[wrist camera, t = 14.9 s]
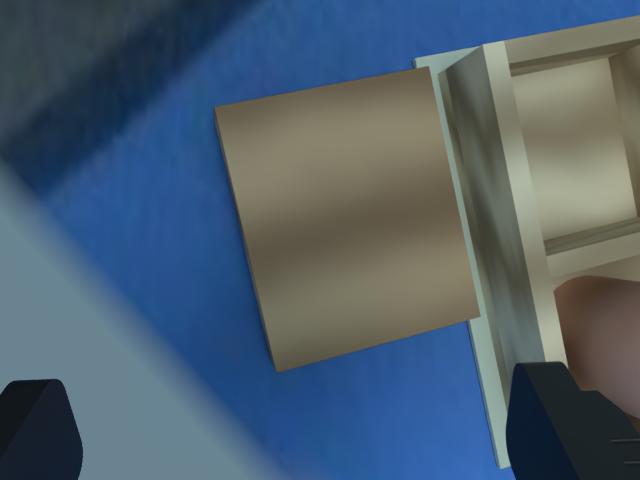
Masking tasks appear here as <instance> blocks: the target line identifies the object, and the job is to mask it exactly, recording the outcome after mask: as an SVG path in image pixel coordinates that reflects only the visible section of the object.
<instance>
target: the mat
mask: <svg viewBox="0 0 640 480" xmlns="http://www.w3.org/2000/svg"><path fill="white" fill-rule="evenodd" d="M478 47H480V46H478ZM478 47H473V48H467V49H462V50H457V51H451V52H446V53H440V54H435V55H430V56H424V57H419V58H415V59H413V60H412V61H413V66H414V69H415V68H421V67H426V66H429V69H430V73H431V78H432V83H433V88H434V93H435V98H436V102H437V107H438V112H439V117H440V122H441V127H442V132H443V136H444V141H445V146H446V151H447V156H448V161H449V165H450V170H451V175H452V180H453V185H454V190H455V194H456V199H457V204H458V209H459V214H460V219H461V223H462V228H463V233H464V238H465V243H466V248H467V252H468V257H469V262H470V267H471V272H472V277H473V281H474V286H475V291H476V296H477V301H478V306H479V310H480V315H481V317H478V318H475V319H471V320H467V325H468V330H469V334H470V339H471V344H472V349H473V354H474V358H475V363H476V368H477V373H478V378H479V382H480V387H481V392H482V397H483V401H484V406H485V411H486V416H487V421H488V425H489V430H490V435H491V440H492V445H493V449H494V454H495V459H496V464H497V467H499V468H500V469H503V468H506V467H509V466H511V465H510V461H509V458H508V453H507V447H506V434H505V433H506V421H507V410H506V405H505V401H504V396H503V391H502V386H501V381H500V376H499V371H498V367H497V362H496V357H495V352H494V347H493V342H492V337H491V333H490V328H489V323H488V318H487V313H486V308H485V303H484V299H483V294H482V289H481V284H480V279H479V274H478V269H477V265H476V260H475V255H474V250H473V245H472V240H471V235H470V231H469V226H468V221H467V216H466V211H465V206H464V202H463V197H462V192H461V187H460V182H459V177H458V172H457V168H456V163H455V158H454V153H453V148H452V143H451V138H450V134H449V129H448V124H447V119H446V114H445V109H444V104H443V100H442V95H441V90H440V85H439V80H438V75H437V74H439V73H440V72H442V71H443V70H445V69H446V68H448V67H449V66H451V65H452V64H454V63H455V62H457V61H458V60H460V59H461V58H463V57H464V56H466V55H468V54H469V53H471V52H472V51H474V50H475V49H477V48H478Z"/></svg>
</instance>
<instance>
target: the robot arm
mask: <svg viewBox="0 0 640 480" xmlns="http://www.w3.org/2000/svg"><path fill="white" fill-rule="evenodd" d="M505 434H506V447H507V453H508V458H509V461H510V465H511V468H512V470H513V473H514V476H515V478H516V480H640V435H639V433H638V432H637V430H636V429H635V427H634V426H633V424H632V423H631V421H630V420H629V418H628V417H627V415H626V414H625V412H624V411H623V410H621V409H620V408H619V407H618V406H616V405H615V404H614V403H613V402H611V401H610V400H609V399H608V398H606V397H605V396H604V395H603V394H601V393H600V392H599V391H598V390H591V391H581V390H580V388H579V386H578V385H577V383H576V381H575V380H574V378H573V376H572V375H571V373H570V371H569V370H568V368H567V366H566V365H565V364H564V363H563V362H561V361H550V362H524V363H517V364H516V365H515V367H514V370H513V375H512V383H511V391H510V398H509V406H508V414H507V421H506V433H505ZM82 459H83V447H82V442H81V438H80V435H79V432H78V428H77V425H76V422H75V419H74V416H73V412H72V409H71V406H70V403H69V400H68V396H67V394H66V390H65V387H64V385H63V384H62V382H61V381H60V380H58V379H46V380H45V379H43V380H19V381H13V382H11V383H9V384H8V385H7V386H6V388H5V389H4V391H3V392H2V393H1V394H0V480H78V478H79V475H80V471H81V467H82Z"/></svg>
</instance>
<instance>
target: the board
mask: <svg viewBox="0 0 640 480" xmlns="http://www.w3.org/2000/svg"><path fill="white" fill-rule="evenodd" d="M214 121H215V125H216V130H217V134H218V138H219V142H220V147H221V151H222V155H223V159H224V164H225V168H226V172H227V176H228V181H229V185H230V189H231V193H232V198H233V202H234V206H235V210H236V215H237V219H238V223H239V227H240V232H241V236H242V240H243V244H244V249H245V253H246V257H247V261H248V266H249V270H250V274H251V278H252V283H253V287H254V291H255V295H256V300H257V304H258V308H259V312H260V317H261V321H262V325H263V330H264V334H265V338H266V342H267V347H268V351H269V355H270V359H271V361H272V363H273V366H274V368H275V370H276V373H279V372H283V371H286V370H290V369H293V368H297V367H301V366H304V365H308V364H312V363H315V362H319V361H322V360H326V359H330V358H333V357H337V356H341V355H344V354H348V353H351V352H355V351H359V350H362V349H366V348H370V347H373V346H377V345H380V344H384V343H388V342H391V341H395V340H399V339H402V338H406V337H409V336H413V335H417V334H420V333H424V332H427V331H431V330H435V329H438V328H442V327H446V326H449V325H453V324H456V323H460V322H464V321H467V320H471V319H475V318H478V317H481V315H480V310H479V306H478V301H477V296H476V291H475V286H474V281H473V277H472V272H471V267H470V262H469V257H468V252H467V248H466V243H465V238H464V233H463V228H462V223H461V219H460V214H459V209H458V204H457V199H456V194H455V190H454V185H453V180H452V175H451V170H450V165H449V161H448V156H447V151H446V146H445V141H444V136H443V132H442V127H441V122H440V117H439V112H438V107H437V102H436V98H435V93H434V88H433V83H432V78H431V73H430V69H429V66H426V67H421V68H415V69H410V70H405V71H400V72H394V73H389V74H384V75H379V76H373V77H368V78H363V79H358V80H352V81H347V82H342V83H337V84H331V85H326V86H321V87H316V88H310V89H305V90H300V91H295V92H289V93H284V94H279V95H274V96H268V97H263V98H258V99H253V100H247V101H242V102H237V103H232V104H226V105H221V106H216V107H214Z"/></svg>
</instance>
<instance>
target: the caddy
mask: <svg viewBox="0 0 640 480" xmlns="http://www.w3.org/2000/svg"><path fill="white" fill-rule="evenodd" d="M437 75H438V80H439V85H440V90H441V95H442V100H443V104H444V109H445V114H446V119H447V124H448V129H449V134H450V138H451V143H452V148H453V153H454V158H455V163H456V168H457V172H458V177H459V182H460V187H461V192H462V197H463V202H464V206H465V211H466V216H467V221H468V226H469V231H470V235H471V240H472V245H473V250H474V255H475V260H476V265H477V269H478V274H479V279H480V284H481V289H482V294H483V299H484V303H485V308H486V313H487V318H488V323H489V328H490V333H491V337H492V342H493V347H494V352H495V357H496V362H497V367H498V371H499V376H500V381H501V386H502V391H503V396H504V401H505V405H506V410H507V414H508V406H509V398H510V391H511V383H512V375H513V370H514V367H515V365H516V364H517V363H524V362H550V361H561V362H563V363H564V364H565V365H566V366H567V368H568V364H567V359H566V354H565V349H564V344H563V339H562V333H561V328H560V323H559V318H558V313H557V308H556V303H555V298H554V293H553V291H554V290H555V289H556V288H557V287H558V286H560V285H561V284H562V283H564V282H566V281H568V280H570V279H572V278H575V277H579V276H584V275H594V276H602V277H609V278H616V279H623V280H631V281H638V282H640V15H638V16H633V17H628V18H622V19H617V20H612V21H606V22H601V23H595V24H590V25H585V26H579V27H574V28H569V29H563V30H558V31H553V32H547V33H542V34H537V35H531V36H526V37H521V38H515V39H510V40H504V41H499V42H494V43H488V44H483V45H481V46H480V47H478V48H477V49H475V50H474V51H472V52H471V53H469V54H468V55H466V56H464V57H463V58H461V59H460V60H458V61H457V62H455V63H454V64H452V65H451V66H449V67H448V68H446V69H445V70H443V71H442V72H440V73H439V74H437ZM568 370H569V369H568ZM625 414H626V415H627V417H628V418H629V420H630V421H631V423H632V424H633V426H634V427H635V429H636V430H637V432H638V433H639V435H640V419H639V418H636V417H634V416H632V415H630V414H628V413H626V412H625Z"/></svg>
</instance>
